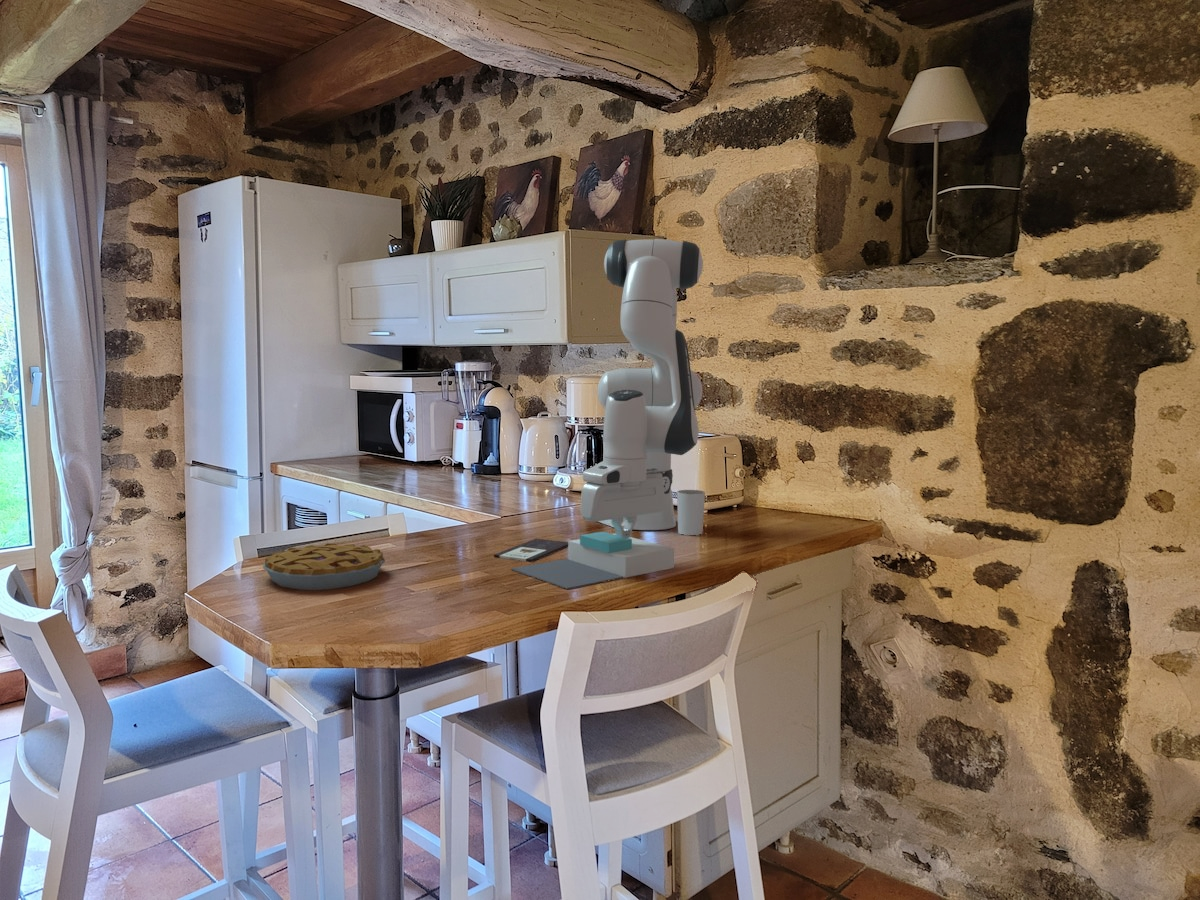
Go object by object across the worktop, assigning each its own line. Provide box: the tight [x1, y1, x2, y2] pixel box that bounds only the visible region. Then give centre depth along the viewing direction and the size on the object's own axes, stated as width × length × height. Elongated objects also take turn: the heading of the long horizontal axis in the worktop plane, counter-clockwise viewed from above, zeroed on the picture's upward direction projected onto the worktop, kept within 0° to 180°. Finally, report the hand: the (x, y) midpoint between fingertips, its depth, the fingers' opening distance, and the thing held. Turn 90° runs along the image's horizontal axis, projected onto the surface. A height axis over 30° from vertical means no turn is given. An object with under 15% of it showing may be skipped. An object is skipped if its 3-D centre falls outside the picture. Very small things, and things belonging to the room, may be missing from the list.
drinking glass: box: [676, 489, 706, 536], centre depth 210 cm, size 7×7×10 cm
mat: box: [511, 558, 624, 590], centre depth 171 cm, size 18×14×1 cm
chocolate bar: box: [493, 538, 568, 563], centre depth 190 cm, size 9×1×18 cm
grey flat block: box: [567, 532, 675, 578], centre depth 179 cm, size 18×13×4 cm
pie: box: [262, 543, 386, 591], centre depth 166 cm, size 22×22×5 cm
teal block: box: [579, 531, 632, 553], centre depth 176 cm, size 9×6×2 cm, turn 40°
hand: (623, 538), depth 179 cm, fingers closed
